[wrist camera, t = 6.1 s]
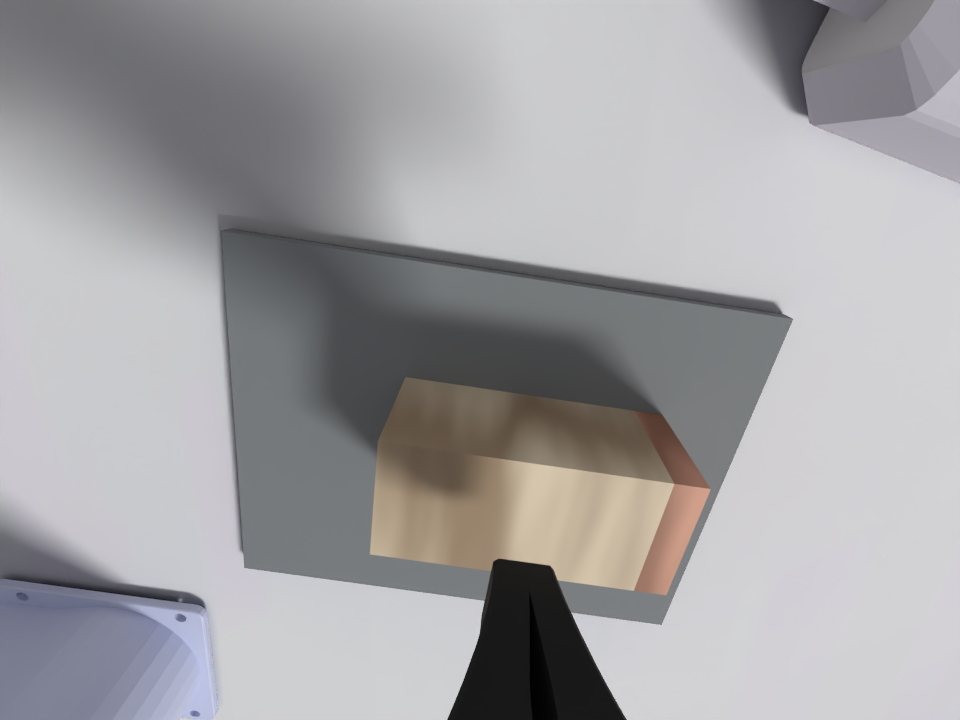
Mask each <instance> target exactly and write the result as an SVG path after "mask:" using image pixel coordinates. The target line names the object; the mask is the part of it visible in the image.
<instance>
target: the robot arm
mask: <svg viewBox="0 0 960 720" xmlns="http://www.w3.org/2000/svg"><path fill="white" fill-rule="evenodd" d="M217 712H218V701H217V693H216V684H215V676H214V667H213V659H212V650H211V642H210V633H209V625H208V617H207V612H206V610H205V609H204V608H203V607H201V606H199V605H196V604H188V603H181V602H173V601H166V600H158V599H151V598H143V597H136V596H128V595H121V594H114V593H106V592H99V591H91V590H84V589H76V588H69V587H61V586H54V585H47V584H39V583H32V582H24V581H17V580H9V579H0V720H179V719H180V718H181V717H183V718H190V719H198V720H212V719H213V718H215V716H216V714H217ZM447 720H626V718H625V716H624V715H623V713H622V711H621V709H620V708H619V706H618V704H617V702H616V701H615V699H614V697H613V695H612V693H611V692H610V690H609V688H608V686H607V684H606V683H605V681H604V679H603V677H602V675H601V673H600V671H599V669H598V667H597V666H596V664H595V662H594V660H593V658H592V656H591V654H590V651H589V649H588V647H587V645H586V643H585V641H584V639H583V637H582V635H581V633H580V631H579V629H578V627H577V625H576V623H575V620H574V618H573V616H572V614H571V611H570V609H569V607H568V604H567V602H566V600H565V597H564V595H563V593H562V590H561V588H560V585H559V583H558V580H557V577H556V575H555V572H554V570H553V568H552V567H551V566H550V565H543V564H535V563H528V562H521V561H514V560H507V559H497V560H495V561H493V565H492V569H491V574H490V579H489V584H488V588H487V593H486V598H485V603H484V607H483V612H482V619H481V629H480V635H479V639H478V642H477V645H476V648H475V651H474V653H473V656H472V659H471V662H470V664H469V667H468V670H467V672H466V675H465V678H464V681H463V683H462V686H461V688H460V691H459V693H458V696H457V698H456V701H455V703H454V705H453V708H452V710H451V712H450V715H449V717H448V719H447Z"/></svg>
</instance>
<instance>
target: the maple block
mask: <svg viewBox="0 0 960 720" xmlns="http://www.w3.org/2000/svg"><path fill="white" fill-rule="evenodd" d="M710 490H711V488H710V487H709V485H708V484H707V482H706V481H705V479H704V478H703V476H702V475H701V473H700V471H699V470H698V468H697V467H696V465H695V464H694V462H693V461H692V459H691V458H690V456H689V455H688V453H687V451H686V450H685V448H684V447H683V445H682V444H681V442H680V441H679V439H678V438H677V436H676V435H675V433H674V431H673V430H672V428H671V427H670V425H669V424H668V422H667V421H666V419H665V418H664V416H663V415H659V414H653V413H646V412H639V411H632V410H625V409H619V408H612V407H605V406H598V405H592V404H585V403H578V402H571V401H564V400H558V399H551V398H544V397H537V396H531V395H524V394H517V393H510V392H504V391H497V390H490V389H483V388H476V387H470V386H463V385H456V384H449V383H443V382H436V381H429V380H422V379H415V378H409V377H405V379H404V382H403V384H402V386H401V389H400V391H399V393H398V396H397V398H396V400H395V403H394V405H393V407H392V410H391V412H390V414H389V417H388V419H387V421H386V424H385V426H384V428H383V430H382V433H381V435H380V437H379V440H378V447H377V461H376V475H375V489H374V503H373V517H372V531H371V545H370V554H371V555H378V556H385V557H393V558H400V559H407V560H414V561H421V562H429V563H436V564H443V565H450V566H458V567H465V568H472V569H479V570H487V571H491V569H492V565H493V561H495V560H497V559H507V560H514V561H521V562H528V563H535V564H543V565H550V566H551V567H552V568H553V570H554V572H555V575H556V577H557V580H559V581H566V582H574V583H581V584H588V585H595V586H602V587H610V588H617V589H624V590H631V591H639V592H646V593H653V594H660V595H667V592H668V590H669V588H670V585H671V583H672V580H673V578H674V576H675V573H676V571H677V569H678V566H679V564H680V562H681V559H682V557H683V554H684V552H685V550H686V547H687V545H688V543H689V540H690V538H691V535H692V533H693V531H694V528H695V526H696V524H697V521H698V519H699V516H700V514H701V512H702V509H703V507H704V505H705V502H706V500H707V497H708V495H709V493H710Z"/></svg>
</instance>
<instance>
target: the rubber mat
mask: <svg viewBox="0 0 960 720" xmlns="http://www.w3.org/2000/svg"><path fill="white" fill-rule="evenodd" d="M221 239H222V253H223V267H224V282H225V296H226V310H227V325H228V339H229V353H230V368H231V382H232V396H233V411H234V425H235V439H236V454H237V468H238V482H239V497H240V511H241V526H242V540H243V554H244V568H249V569H257V570H264V571H271V572H279V573H286V574H293V575H301V576H308V577H315V578H323V579H330V580H337V581H345V582H352V583H359V584H367V585H374V586H381V587H389V588H396V589H403V590H411V591H418V592H425V593H433V594H440V595H447V596H455V597H462V598H469V599H476V600H484V601H485V598H486V593H487V588H488V584H489V579H490V574H491V571H487V570H479V569H472V568H465V567H458V566H450V565H443V564H436V563H429V562H421V561H414V560H407V559H400V558H393V557H385V556H378V555H371V554H370V545H371V531H372V517H373V503H374V489H375V475H376V461H377V447H378V440H379V437H380V435H381V433H382V430H383V428H384V426H385V424H386V421H387V419H388V417H389V414H390V412H391V410H392V407H393V405H394V403H395V400H396V398H397V396H398V393H399V391H400V389H401V386H402V384H403V382H404V379H405V377H409V378H415V379H422V380H429V381H436V382H443V383H449V384H456V385H463V386H470V387H476V388H483V389H490V390H497V391H504V392H510V393H517V394H524V395H531V396H537V397H544V398H551V399H558V400H564V401H571V402H578V403H585V404H592V405H598V406H605V407H612V408H619V409H625V410H632V411H639V412H646V413H653V414H659V415H663V416H664V418H665V419H666V421H667V422H668V424H669V425H670V427H671V428H672V430H673V431H674V433H675V435H676V436H677V438H678V439H679V441H680V442H681V444H682V445H683V447H684V448H685V450H686V451H687V453H688V455H689V456H690V458H691V459H692V461H693V462H694V464H695V465H696V467H697V468H698V470H699V471H700V473H701V475H702V476H703V478H704V479H705V481H706V482H707V484H708V485H709V487H710V488H711V490H710V493H709V495H708V497H707V500H706V502H705V505H704V507H703V509H702V512H701V514H700V516H699V519H698V521H697V524H696V526H695V528H694V531H693V533H692V535H691V538H690V540H689V543H688V545H687V547H686V550H685V552H684V554H683V557H682V559H681V562H680V564H679V566H678V569H677V571H676V573H675V576H674V578H673V580H672V583H671V585H670V588H669V590H668V592H667V595H660V594H653V593H646V592H639V591H631V590H624V589H617V588H610V587H602V586H595V585H588V584H581V583H574V582H566V581H559V580H558V583H559V585H560V588H561V590H562V593H563V595H564V597H565V600H566V602H567V604H568V607H569V609H570V611H571V612H572V613H579V614H586V615H594V616H601V617H608V618H616V619H623V620H630V621H638V622H645V623H652V624H660V625H662V622H663V620H664V618H665V615H666V613H667V611H668V608H669V606H670V604H671V601H672V599H673V597H674V594H675V592H676V590H677V587H678V585H679V583H680V581H681V578H682V576H683V574H684V571H685V569H686V567H687V564H688V562H689V560H690V557H691V555H692V553H693V550H694V548H695V546H696V543H697V541H698V539H699V536H700V534H701V532H702V529H703V527H704V525H705V522H706V520H707V518H708V515H709V513H710V511H711V509H712V506H713V504H714V502H715V499H716V497H717V495H718V492H719V490H720V488H721V485H722V483H723V481H724V478H725V476H726V474H727V471H728V469H729V467H730V464H731V462H732V460H733V457H734V455H735V453H736V450H737V448H738V446H739V444H740V441H741V439H742V437H743V434H744V432H745V430H746V427H747V425H748V423H749V420H750V418H751V416H752V413H753V411H754V409H755V406H756V404H757V402H758V399H759V397H760V395H761V392H762V390H763V388H764V385H765V383H766V381H767V378H768V376H769V374H770V372H771V369H772V367H773V365H774V362H775V360H776V358H777V355H778V353H779V351H780V348H781V346H782V344H783V341H784V339H785V337H786V334H787V332H788V330H789V327H790V325H791V323H792V320H793V319H792V318H790V317H788V316H786V315H784V314H778V313H772V312H765V311H759V310H752V309H746V308H739V307H733V306H726V305H720V304H713V303H707V302H700V301H694V300H687V299H681V298H674V297H668V296H661V295H655V294H648V293H642V292H635V291H629V290H622V289H616V288H609V287H603V286H596V285H590V284H583V283H577V282H570V281H564V280H557V279H551V278H544V277H538V276H531V275H525V274H518V273H512V272H505V271H499V270H492V269H486V268H479V267H473V266H466V265H460V264H453V263H447V262H440V261H434V260H427V259H421V258H414V257H408V256H401V255H395V254H388V253H382V252H375V251H369V250H362V249H356V248H349V247H343V246H336V245H330V244H323V243H317V242H310V241H304V240H297V239H291V238H284V237H278V236H271V235H265V234H258V233H252V232H245V231H239V230H232V229H228V230H224V231H221Z"/></svg>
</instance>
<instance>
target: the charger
mask: <svg viewBox="0 0 960 720" xmlns="http://www.w3.org/2000/svg"><path fill="white" fill-rule="evenodd" d="M814 1H816V2H819V3H821V4H823V5H826V6H828V7H830V9H829V11H828V13H827V15H826V17H825V19H824V21H823V23H822V24H821V26H820V28H819V30H818V32H817V34H816V36H815V38H814V40H813V42H812V44H811V46H810V48H809V50H808V52H807V55H806V57H805V60H804V62H803V66H802V77H803V84H804V90H805V97H806V103H807V110H808V116H809V123H810V124H812V125H814V126H816V127H818V128H821V129H823V130H826V131H829V132H831V133H834V134H836V135H839V136H841V137H844V138H846V139H849V140H851V141H854V142H856V143H859V144H861V145H864V146H866V147H869V148H871V149H874V150H876V151H879V152H882V153H884V154H887V155H889V156H892V157H894V158H897V159H899V160H902V161H904V162H907V163H909V164H912V165H914V166H917V167H919V168H922V169H924V170H927V171H930V172H932V173H935V174H937V175H940V176H942V177H945V178H947V179H950V180H952V181H955V182H957V183H960V0H814Z"/></svg>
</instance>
